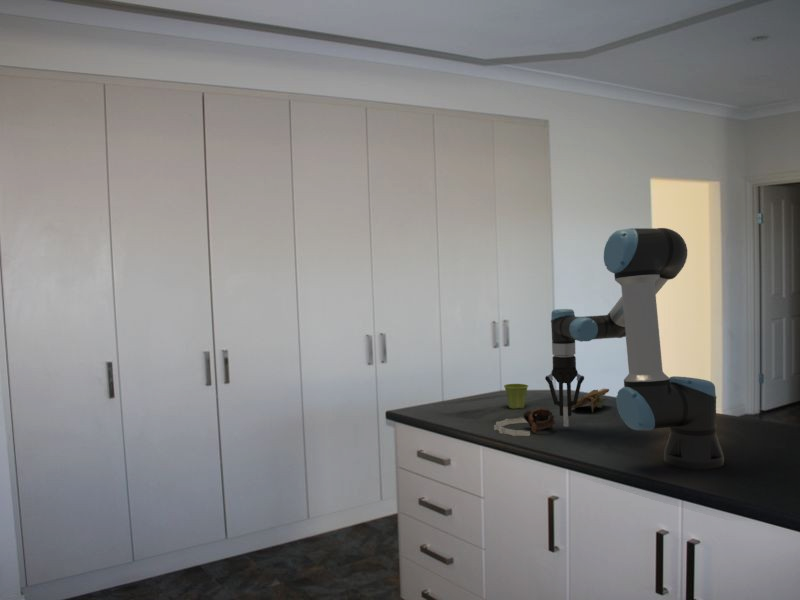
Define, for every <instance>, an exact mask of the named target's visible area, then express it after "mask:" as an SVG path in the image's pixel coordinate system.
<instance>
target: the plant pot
mask: <svg viewBox="0 0 800 600" xmlns="http://www.w3.org/2000/svg"><path fill="white" fill-rule="evenodd" d="M503 387H504V389H505V392H506V398H507V404H508V408H510V409H512V410H513V409H514V410H516V409H524V408H525V405H526V399H527V397H526V396H527V390H528V387H529V385H528V384H524V383H508V384H504V385H503Z"/></svg>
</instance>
